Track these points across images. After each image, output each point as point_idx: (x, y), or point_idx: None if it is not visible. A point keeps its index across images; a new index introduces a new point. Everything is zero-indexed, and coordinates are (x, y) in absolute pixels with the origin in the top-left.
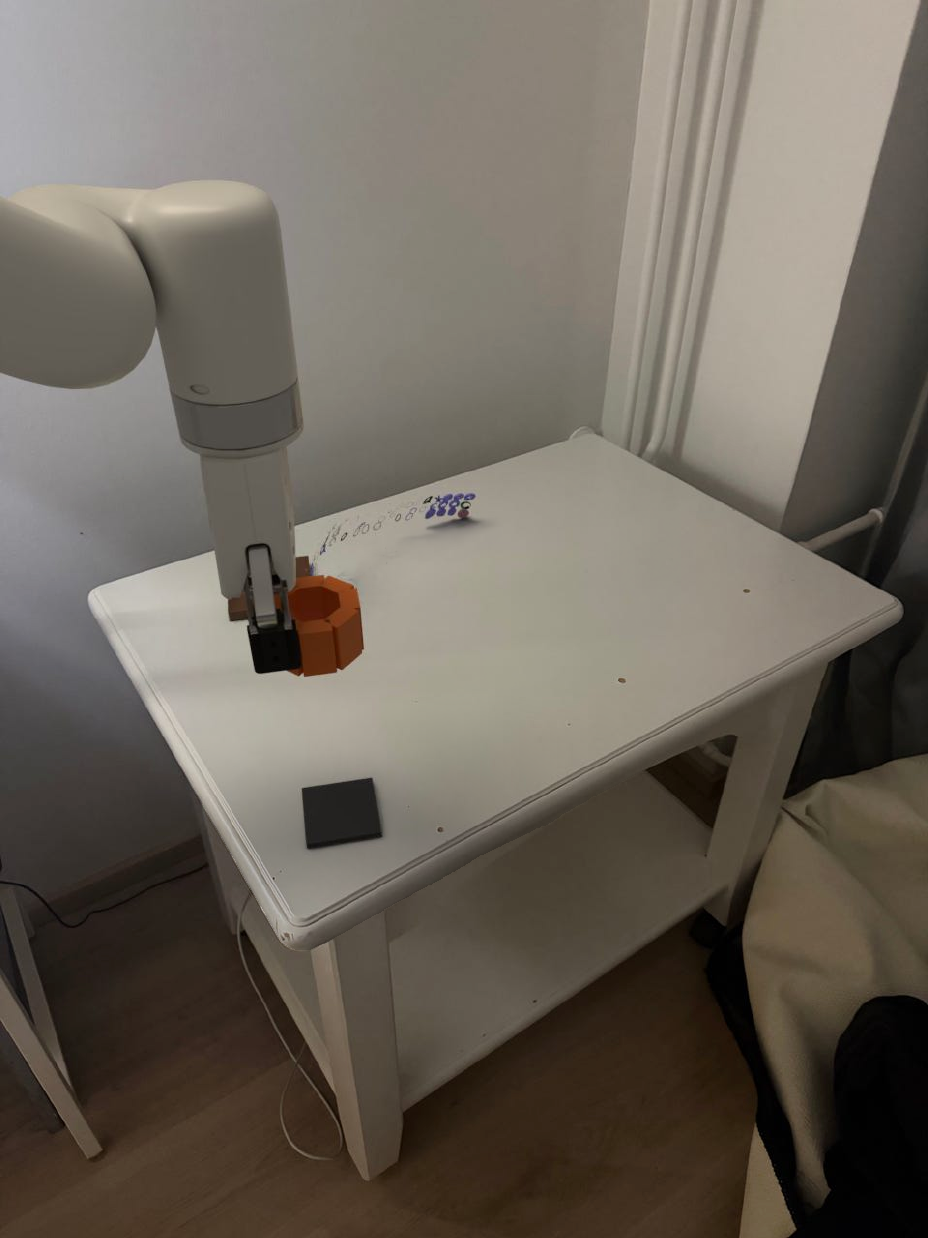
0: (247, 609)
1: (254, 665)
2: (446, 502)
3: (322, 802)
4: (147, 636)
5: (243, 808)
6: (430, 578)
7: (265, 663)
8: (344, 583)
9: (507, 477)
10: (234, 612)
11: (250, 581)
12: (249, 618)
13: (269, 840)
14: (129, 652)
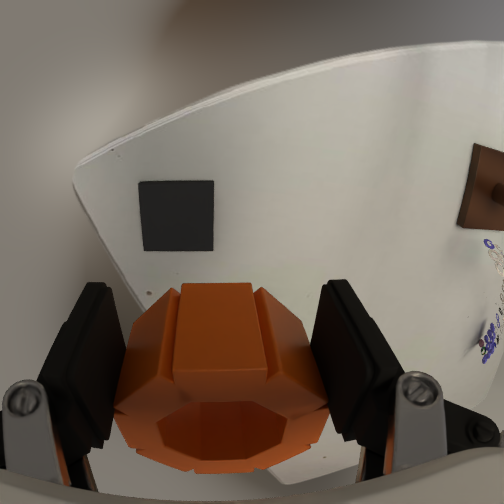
0: (4, 451)
1: (82, 293)
2: (491, 344)
3: (188, 201)
4: (476, 64)
5: (206, 118)
6: (442, 318)
7: (62, 328)
8: (273, 463)
9: (490, 364)
10: (479, 151)
11: (354, 347)
12: (5, 428)
13: (157, 144)
14: (460, 42)
